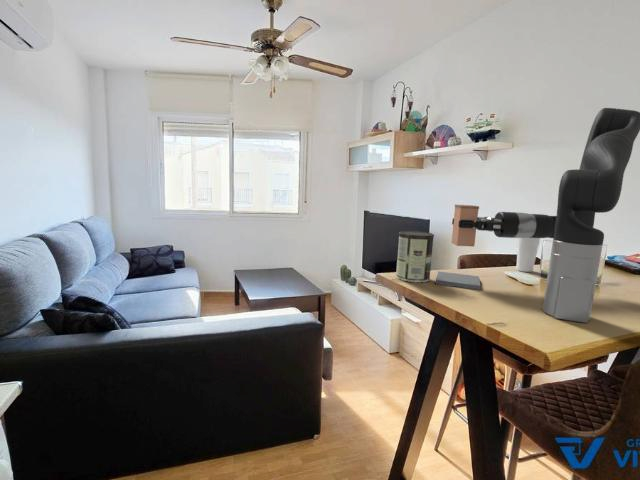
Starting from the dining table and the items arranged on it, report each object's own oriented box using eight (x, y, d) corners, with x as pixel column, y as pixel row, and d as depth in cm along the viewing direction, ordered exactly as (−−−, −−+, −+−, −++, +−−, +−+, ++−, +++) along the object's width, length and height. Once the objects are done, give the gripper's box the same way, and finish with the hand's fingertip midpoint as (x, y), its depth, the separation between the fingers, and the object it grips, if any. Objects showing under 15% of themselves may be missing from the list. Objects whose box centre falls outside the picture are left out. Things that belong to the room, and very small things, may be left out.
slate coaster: (479, 289, 102) (480, 285, 102) (435, 283, 106) (435, 279, 106) (478, 280, 113) (478, 276, 113) (438, 274, 117) (438, 271, 117)
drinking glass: (529, 269, 132) (535, 228, 130) (538, 273, 126) (545, 231, 123) (510, 267, 133) (515, 227, 131) (518, 272, 126) (524, 229, 124)
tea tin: (474, 246, 105) (479, 206, 103) (456, 245, 106) (460, 205, 104) (468, 243, 110) (472, 205, 109) (451, 242, 111) (454, 204, 109)
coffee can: (415, 273, 118) (419, 230, 116) (436, 281, 109) (441, 235, 106) (388, 274, 114) (392, 230, 112) (408, 283, 105) (412, 235, 103)
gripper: (504, 210, 113) (449, 208, 113) (528, 214, 99) (465, 211, 99) (501, 234, 114) (447, 231, 115) (525, 241, 100) (463, 238, 101)
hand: (456, 222), depth 107 cm, fingers closed on tea tin, 5 cm apart
